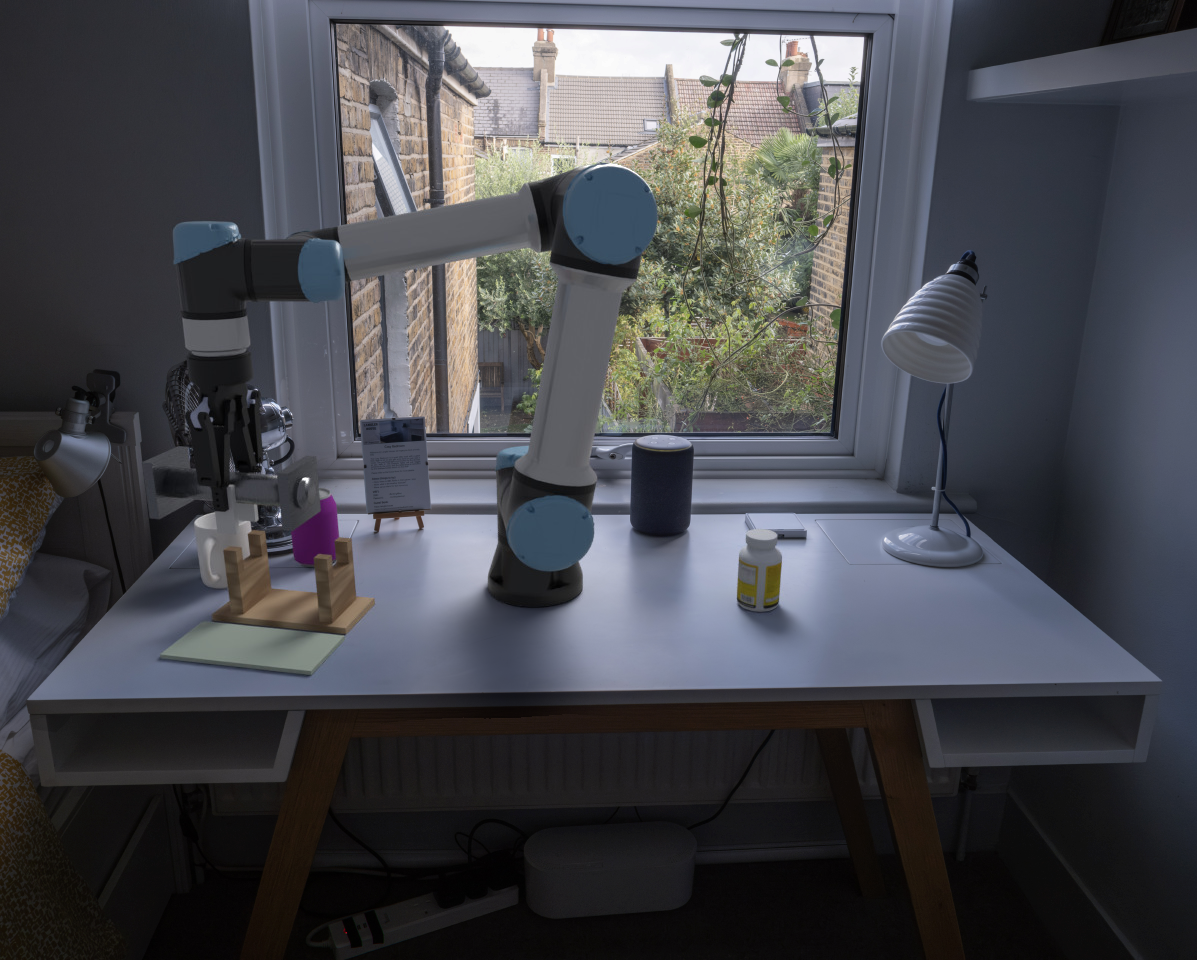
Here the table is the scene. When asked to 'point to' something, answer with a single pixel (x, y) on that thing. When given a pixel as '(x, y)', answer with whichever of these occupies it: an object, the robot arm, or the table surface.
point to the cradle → (292, 591)
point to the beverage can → (317, 532)
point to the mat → (254, 647)
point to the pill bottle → (759, 571)
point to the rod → (288, 489)
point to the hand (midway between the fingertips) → (238, 525)
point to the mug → (217, 548)
